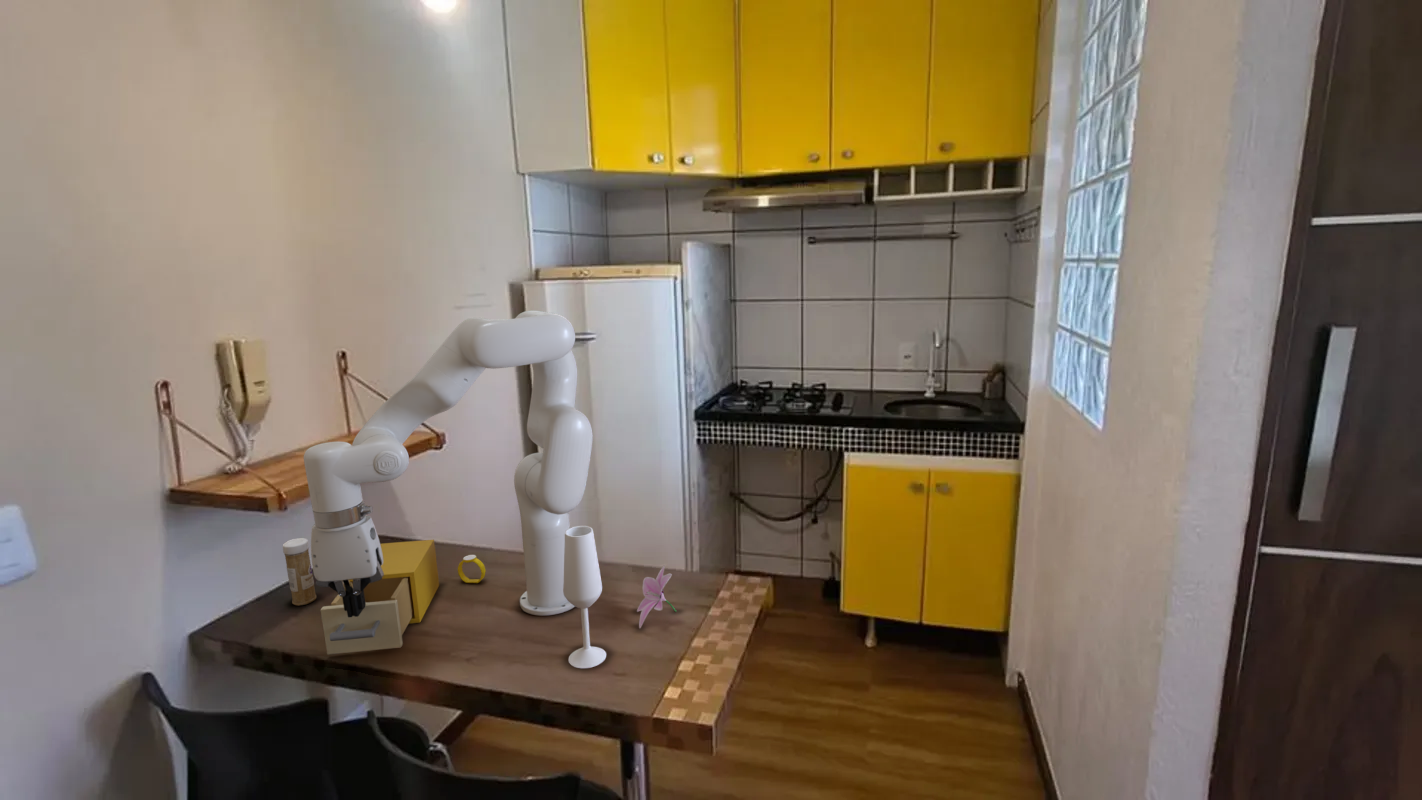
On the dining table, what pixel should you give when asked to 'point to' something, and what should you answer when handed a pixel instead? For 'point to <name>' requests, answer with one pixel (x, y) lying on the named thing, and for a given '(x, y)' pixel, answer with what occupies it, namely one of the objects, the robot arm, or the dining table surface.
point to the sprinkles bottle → (299, 571)
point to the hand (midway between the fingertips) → (356, 612)
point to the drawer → (370, 618)
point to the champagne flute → (582, 588)
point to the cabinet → (413, 570)
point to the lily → (653, 594)
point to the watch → (467, 560)
